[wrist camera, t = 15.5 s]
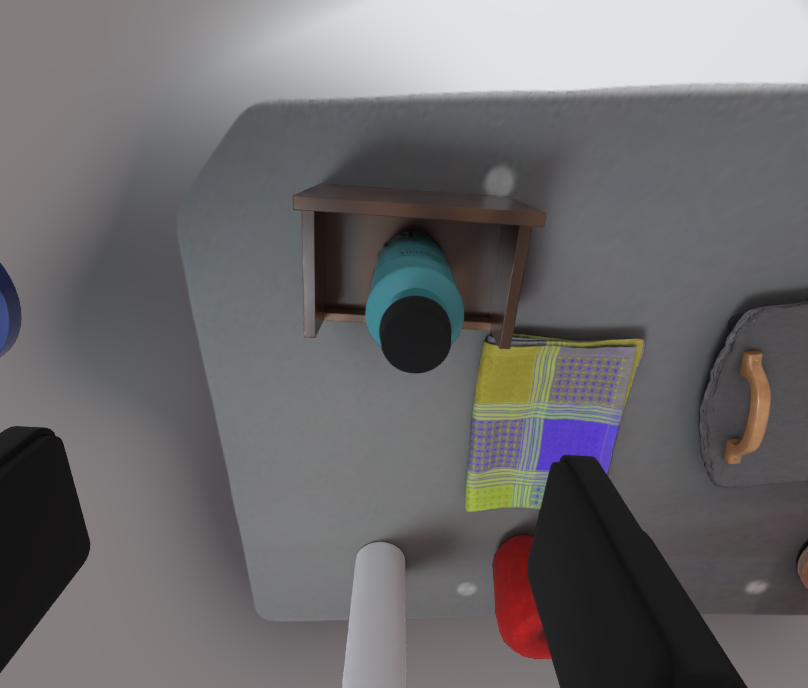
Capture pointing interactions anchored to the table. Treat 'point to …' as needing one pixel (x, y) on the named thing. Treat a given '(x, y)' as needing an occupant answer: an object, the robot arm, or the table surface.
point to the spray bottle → (377, 620)
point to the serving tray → (758, 400)
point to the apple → (517, 600)
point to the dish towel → (543, 413)
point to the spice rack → (422, 211)
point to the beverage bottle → (414, 303)
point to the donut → (803, 567)
